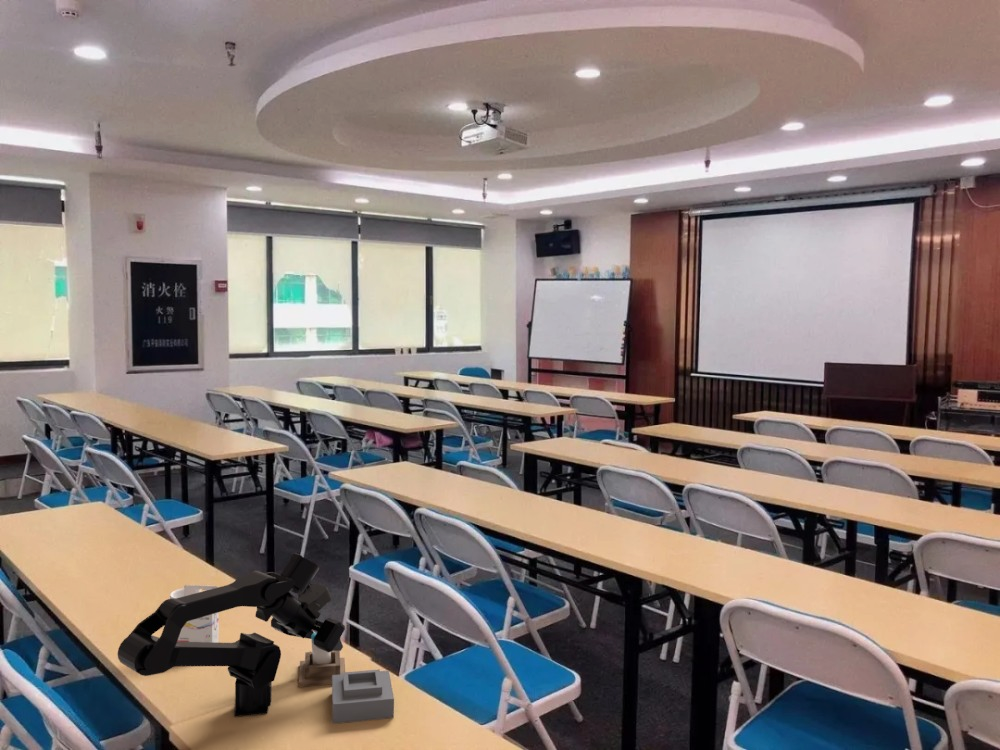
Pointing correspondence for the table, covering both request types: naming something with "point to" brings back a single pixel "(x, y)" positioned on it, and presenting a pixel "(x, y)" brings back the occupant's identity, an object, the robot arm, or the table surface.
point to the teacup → (179, 593)
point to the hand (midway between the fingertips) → (327, 642)
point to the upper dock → (362, 696)
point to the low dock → (320, 670)
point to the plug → (319, 654)
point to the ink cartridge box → (200, 622)
